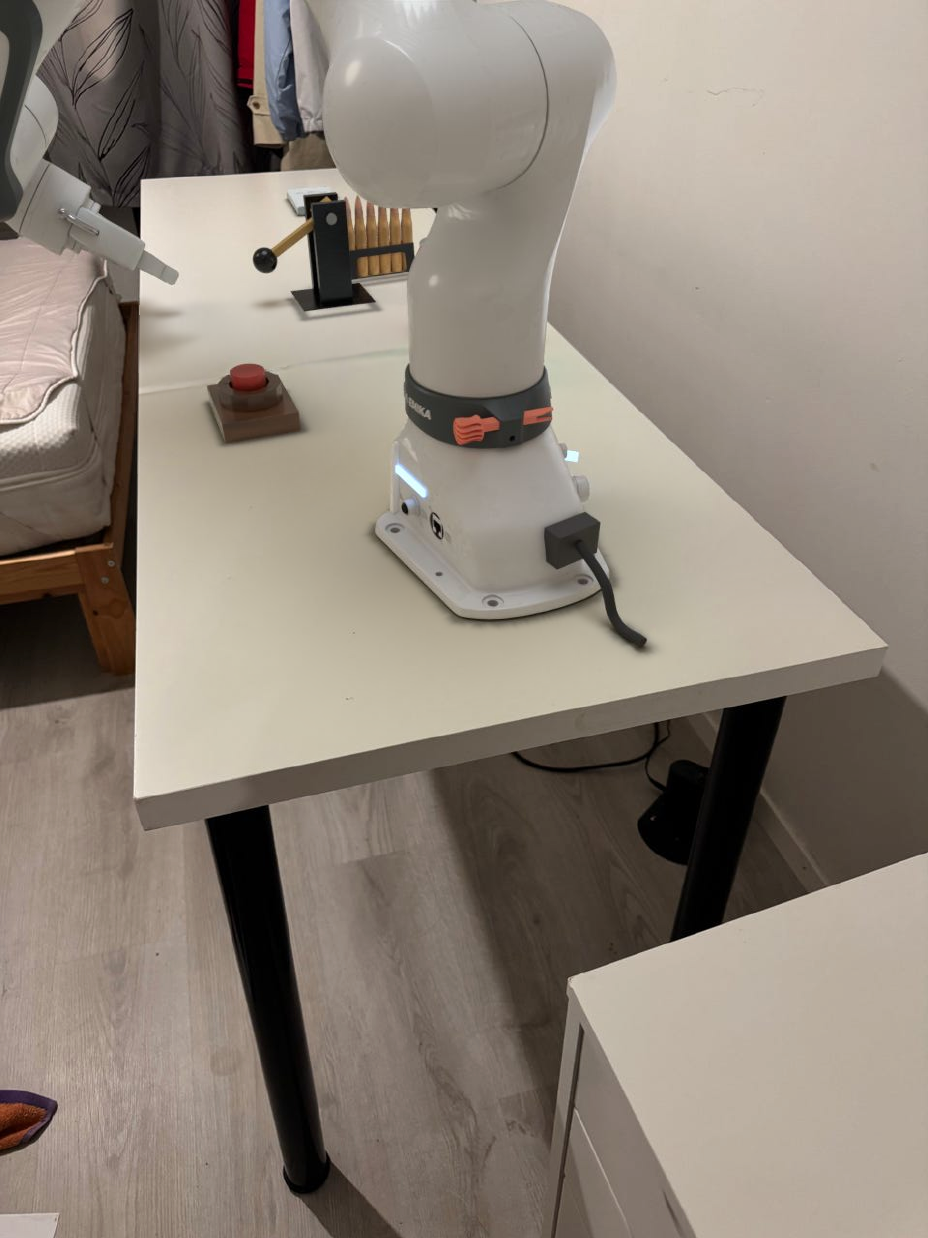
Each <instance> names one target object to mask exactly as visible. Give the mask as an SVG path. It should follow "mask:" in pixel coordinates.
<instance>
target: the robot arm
mask: <svg viewBox="0 0 928 1238" xmlns="http://www.w3.org/2000/svg"><path fill="white" fill-rule="evenodd" d="M303 1H304V3H305V4H306V7H307V8H308V9H309V12H310V13H311V15H312V17H313V19H314V21H315V24H316V26H317V28H318V31H319V33H320V36H321V38H322V41H323V44H324V48H325V51H326V54H327V59H328V69H327V72H326V75H325V78H324V82H323V88H322V93H321V123H322V130H323V135H324V138H325V143H326V146H327V149H328V152H329V154H330V157H331V159H332V161H333V163H334V165H335V167H336V169H337V171H338V173H339V174H340V176H341V177H342V179H343V180H344V182H345V183H346V184H347V186H349V188H350V189H351V190H352V191H353V192H354V193H355V194H356V195H358V196H359V198H362V200H364V201H366V202H367V201H368V202H369V203H371V204H374V206H377V207H378V206H379V207H383V208H386V209H390V208H398V209H401V210H402V209H410V210H414V209H415V210H416V209H437V210H436V213H435V216H434V219H433V222H432V225H431V227H430V230H429V232H428V234H427V235H426V237H427V238H426V237H425V238H426V240H425V241H424V243H423V245H422V246H421V248H420V247H419V248H420V249H419V248H418V250H417V251H418V252H417V251H416V253H417V254H416V253H415V257H414V259H413V262H412V264H411V267H410V270H409V272H408V275H407V280H406V300H407V301H406V302H407V327H408V328H407V331H408V332H407V333H408V359H409V362H408V364H407V365H406V367H405V370H404V382H403V397H404V406H405V408H404V409H405V410H404V411H405V414H406V415H407V418H406V421H405V423H404V425H403V427H402V429H401V430H400V432H399V433H398V435H397V437H396V438H395V439H394V440H393V443H392V444H391V446H390V470H389V471H390V475H389V476H390V479H389V480H390V482H389V483H390V484H389V509H388V510H387V511H385V512H384V513H382V515H380V517H378V518H377V520H376V521H375V531H374V532H375V533H374V534H375V535H376V536H377V537H378V538H379V540H380V541H382V543H384V544H385V545H386V546H387V547H388V549H390V550H391V551H392V552H393V553H394V554H395V556H397V557H398V559H400V560H401V561H402V562H403V563H404V564H405V566H407V567H408V569H410V570H411V571H412V572H413V573H414V574H415V575H416V576H417V578H419V579H420V580H421V581H422V582H423V583H424V584H425V585H426V586H427V587H428V588H429V589H430V590H431V591H432V592H433V593H434V595H436V596H437V597H438V598H439V599H440V601H442V602H443V603H444V604H445V605H446V606H447V607H448V608H449V609H450V610H451V611H452V612H453V613H454V614H456V615H457V616H458V617H461V618H468V619H475V620H501V619H511V618H520V617H525V616H530V615H536V614H540V613H544V612H549V611H551V610H555V609H559V608H562V607H567V606H568V605H572V604H575V603H577V602H579V601H582V600H584V599H586V598H588V597H591V596H592V595H594V594H595V593H597V592H598V591H600V590H601V593H602V597H603V601H604V608H605V612H606V616H607V618H608V620H609V622H610V624H611V626H612V627H613V629H614V630H616V631H617V633H618V634H619V635H621V636H622V637H623V638H625V639H627V640H629V641H631V642H632V643H634V644H635V645H637V646H638V647H639V648H643V647H644V646H645V645H646V644H647V641H648V638H647V637H645V636H644V635H642V633H639V632H637V631H636V630H634V629H632V628H630V627H629V626H628V625H626V623H624V621H623V619H622V618H621V616H620V614H619V612H618V608H617V604H616V600H615V593H614V589H613V586H612V584H611V581H610V568H609V567H608V564H607V562H606V561H605V558H604V556H603V554H602V553H601V550H600V549H599V540H600V531H601V524H602V522H601V521H600V520H598V519H597V518H595V517H594V516H592V515H591V514H589V513H588V512H586V511H584V508H583V504H582V503H585V502H587V501H588V500H589V498H590V483H589V480H588V478H587V476H586V475H583V474H579V475H572V474H571V472H570V468H569V466H568V464H567V461H568V462H575V463H578V461H579V452H578V451H574V450H568V446H567V444H566V443H565V442H564V443H563V442H561V443H559V440H558V437H557V435H556V433H555V430H554V427H553V426H552V422H553V411H554V407H553V406H552V397H553V396H552V391H551V390H552V388H551V386H550V382H549V374H548V368H547V367H546V365H545V353H546V342H547V341H546V339H547V328H548V314H549V303H550V291H551V283H552V277H553V271H554V267H555V262H556V258H557V254H558V250H559V245H560V242H561V238H562V235H563V232H564V228H565V224H566V221H567V217H568V215H569V211H570V208H571V204H572V202H573V198H574V195H575V191H576V188H577V185H578V181H579V179H580V175H581V173H582V169H583V166H584V164H585V162H586V159H587V156H588V154H589V153H590V150H591V148H592V146H593V144H594V143H595V141H596V139H597V137H598V136H599V134H600V132H601V131H602V130H603V128H604V126H605V125H606V124H607V122H608V119H609V118H610V115H611V112H612V110H613V106H614V104H615V99H616V95H617V83H618V80H617V79H618V78H617V75H618V73H617V65H616V60H615V55H614V53H613V50H612V49H613V48H612V46H611V43H610V42H609V39H608V38H607V36H606V34H605V33H604V31H603V29H602V28H601V27H600V26H599V25H598V24H597V22H595V21H594V20H593V19H592V18H591V17H589V16H588V15H586V14H585V13H583V12H581V11H579V10H577V9H574V8H571V7H569V6H566V5H563V4H560V3H556V2H553V1H548V0H510V1H501V2H495V3H488V4H480V3H478V2H477V1H474V0H303ZM86 2H87V0H0V223H5V224H7V226H9V227H10V228H11V229H12V230H13V231H14V232H16V233H17V234H19V235H21V236H22V237H24V238H26V239H28V240H30V241H32V242H33V243H35V244H37V245H38V246H40V247H42V248H44V249H46V250H48V251H50V252H52V253H53V254H55V255H57V256H59V257H60V256H61V255H62V254H63V253H64V251H65V250H66V249H68V250H70V251H72V252H73V253H75V254H77V255H79V254H80V253H81V251H84V252H86V253H89V254H90V255H93V256H95V257H98V258H100V259H103V260H105V261H107V262H110V263H112V264H114V265H117V266H119V267H121V268H124V269H125V270H129V271H131V272H132V271H135V269H136V268H137V269H138V270H140V271H142V272H144V273H147V274H148V275H150V276H153V277H155V278H157V279H158V280H160V281H162V282H164V283H167V284H168V285H170V286H173V285H175V284H176V282H177V280H178V279H179V277H180V273H179V271H178V270H177V269H175V268H173V267H172V266H170V265H168V264H167V263H165V262H163V261H162V260H161V259H159V258H158V257H157V256H155V255H154V254H152V253H150V252H149V251H147V250H146V249H145V248H146V243H145V241H144V240H143V239H141V238H139V236H136V235H135V234H133V233H131V232H129V231H128V230H126V229H125V228H123V227H121V226H120V225H117V224H116V223H114V222H113V221H111V220H109V219H107V218H106V217H105V216H104V215H102V214H100V213H99V212H100V209H101V207H102V205H101V204H100V203H98V202H95V200H93V199H91V198H90V193H91V190H92V187H91V185H89V184H87V183H86V182H84V181H82V180H81V179H79V178H77V177H76V176H74V175H72V174H70V173H69V172H68V171H65V170H64V169H62V168H61V167H59V166H57V165H55V164H54V163H52V162H50V161H48V160H46V159H44V156H45V154H46V152H47V150H48V148H49V146H50V144H51V142H52V140H53V138H54V137H55V135H56V133H57V129H58V125H59V124H58V123H59V119H60V109H59V108H60V107H59V104H58V101H57V99H56V97H55V95H54V92H53V91H52V89H51V87H50V85H48V83H47V82H46V81H45V80H44V78H43V77H42V76H41V75H40V74H39V73H38V71H39V69H40V67H41V65H42V63H43V62H44V60H45V58H46V57H47V55H48V54H49V52H50V51H51V50H52V48H53V47H54V45H55V44H56V42H57V41H58V40H59V38H60V37H61V36H62V34H63V33H64V32H65V30H66V29H67V28H68V26H69V25H70V24H71V23H72V21H73V20H74V18H75V17H76V15H77V14H78V13H79V12H80V10H81V9H82V7H84V4H85V3H86Z"/></svg>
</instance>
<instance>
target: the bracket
mask: <svg viewBox="0 0 928 1238" xmlns="http://www.w3.org/2000/svg"><path fill="white" fill-rule="evenodd" d="M325 197H328V198H329V199H330V200H331V201H326V202H320V201H321V200H323V199H324V198H325ZM303 199H304V209H305V215H304V218H305V222H306V221H308V220H309V219H310V218H311V217H312V222H313V230H312V231H311V232H309V233H308V234H307V235H306V237H307V239H306V240H307V247H308V259H309V270H310V277H311V278H310V279H311V287H312V288H305V289H297V290H296V289H295V290H291V291H290V294H291V295H292V296H293V298H294V299H295V301H296V303H298V305H299V306H300V308H301V309H302V310H303V312H304V313H305V312H311V311H318V310H319V311H320V310H326V309H327V310H328V309H334V308H335V309H336V308H341V307H349V306H359V305H364V304H365V305H366V304H373V303H377V301H376V299H374V297H373V296H372V295H371V294H370V293H369V291H367V289H365V287H364V285H362V284H361V282H354V283H353V280H352V279H351V265H350V251H349V237H348V224H347V210H346V201H344V199H339V194H338V192H336V191H333V192H331V193H320V194H309V195H303ZM338 199H339V200H338ZM310 209H311V211H310Z"/></svg>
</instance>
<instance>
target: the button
mask: <svg viewBox="0 0 928 1238" xmlns="http://www.w3.org/2000/svg"><path fill="white" fill-rule="evenodd" d="M265 371H266V370H265V367H264V366H263V365H262V364H258V363H241V364H238V365H235V366H233V367H232V368H231V369H230V370H229V375H230V377H231V383H232V388H233V389H235V390H237V391H254V390H259V389H261V388H263V387H266V385H267V384H266V377H265Z"/></svg>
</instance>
